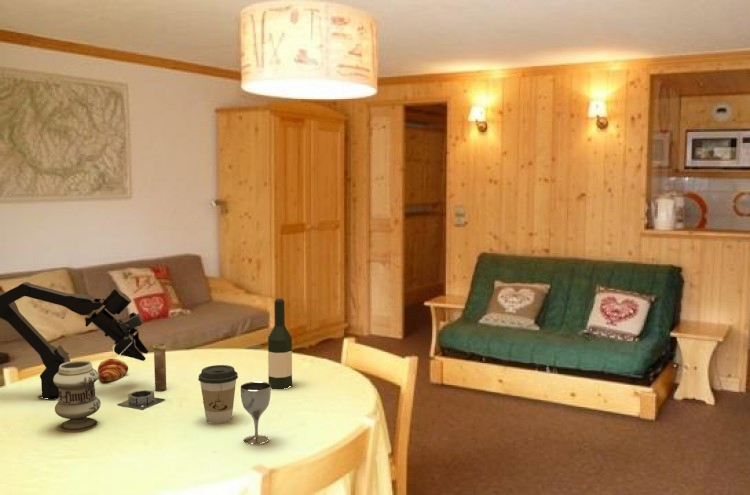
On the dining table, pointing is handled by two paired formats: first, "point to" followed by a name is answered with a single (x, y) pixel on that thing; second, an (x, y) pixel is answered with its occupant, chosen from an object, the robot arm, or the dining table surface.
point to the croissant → (112, 369)
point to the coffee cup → (218, 392)
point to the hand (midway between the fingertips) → (146, 356)
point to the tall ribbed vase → (160, 367)
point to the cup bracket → (141, 400)
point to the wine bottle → (279, 351)
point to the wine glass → (255, 405)
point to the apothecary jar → (76, 395)
